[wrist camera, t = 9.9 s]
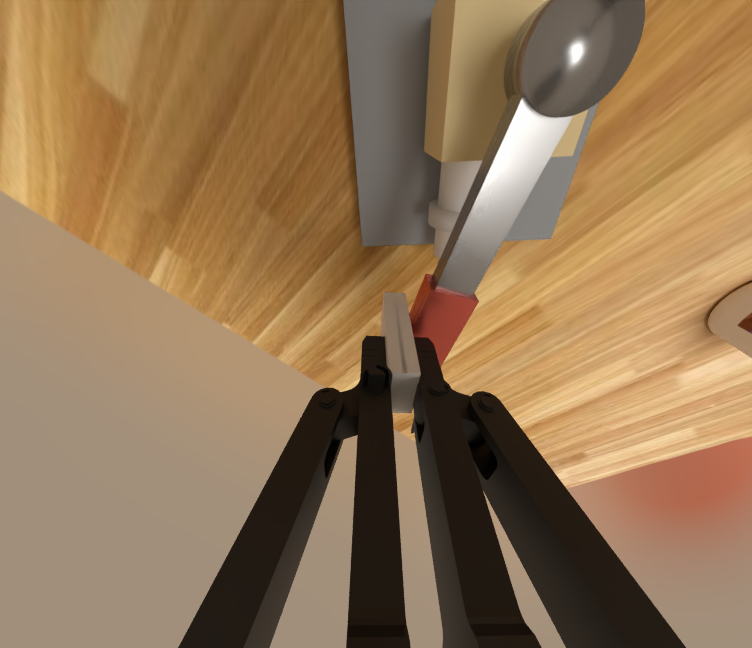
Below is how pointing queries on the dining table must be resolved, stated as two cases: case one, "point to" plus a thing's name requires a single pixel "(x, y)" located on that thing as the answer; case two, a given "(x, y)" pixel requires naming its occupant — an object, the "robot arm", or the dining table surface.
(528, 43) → the valve lever
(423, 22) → the pipe valve base
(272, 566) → the robot arm
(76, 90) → the dining table surface
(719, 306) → the milk bottle
